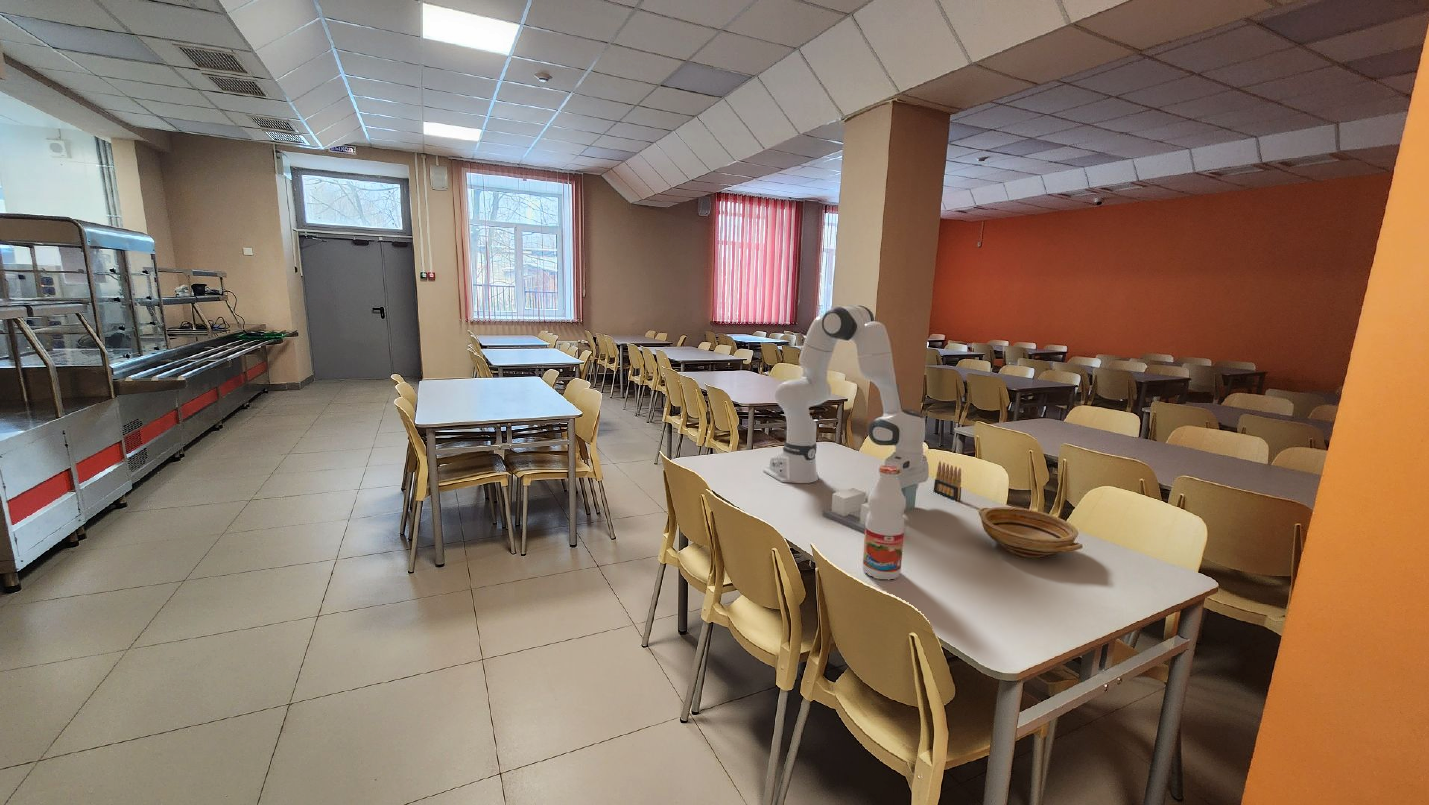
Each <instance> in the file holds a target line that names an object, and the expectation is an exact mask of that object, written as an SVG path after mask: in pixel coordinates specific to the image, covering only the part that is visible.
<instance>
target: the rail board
mask: <svg viewBox="0 0 1429 805" xmlns="http://www.w3.org/2000/svg"><path fill="white" fill-rule="evenodd" d="M868 512H869V506H868V502H866V491H863V490H861V489H857V488H854V487H853V488H849V489H845V490H841V491H837V492H834V493H832V499H831V508H830V509H825V510H823V511H822V516H823V517H825V518H828V519H829V520H832V521H835V522H837V523H839V524H842V525H845V526H846V527H849V528H851V529H853V530H855V531H858V532H861V533H862V532H863V534H865V524H866V517H867V514H868Z"/></svg>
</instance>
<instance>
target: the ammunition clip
mask: <svg viewBox="0 0 1429 805" xmlns="http://www.w3.org/2000/svg"><path fill="white" fill-rule="evenodd" d="M961 486H962V469H961V467H959V468H957V466H953V464H951V465H949V463H945V462H941V460H939V462H938V464H937V471H936V476H935V479H934V484H933V493H934V492H935V493H934V494H936V493H937V495H939V494H940V495H939V496H941V495H942V496H941V497H944V498H946V497H947V499H949V500H950V501H954V500H955V501H954V502H957V503H958V502H960V501H961V500H962V499H961V497H962V487H961Z"/></svg>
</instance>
